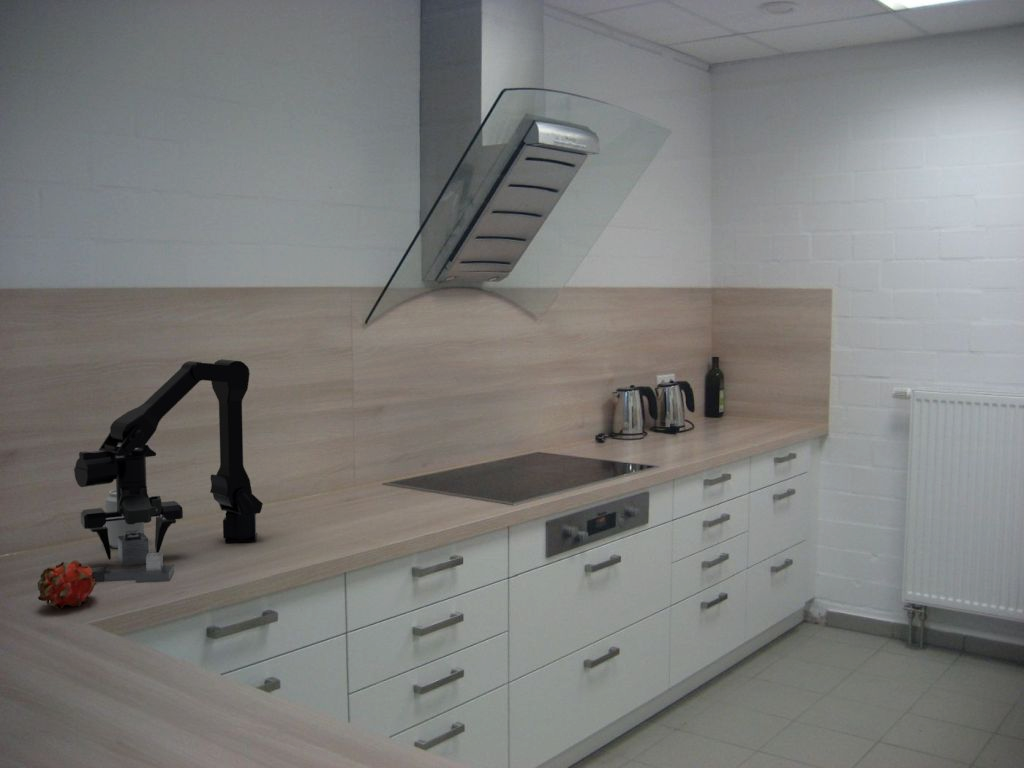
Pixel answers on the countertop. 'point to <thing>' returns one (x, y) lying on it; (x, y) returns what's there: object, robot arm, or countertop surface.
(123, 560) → the dark grey block
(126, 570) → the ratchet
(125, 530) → the can
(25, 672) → the countertop surface
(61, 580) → the dragon fruit
